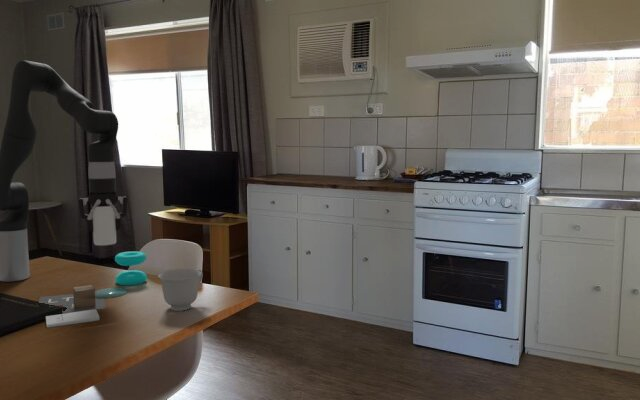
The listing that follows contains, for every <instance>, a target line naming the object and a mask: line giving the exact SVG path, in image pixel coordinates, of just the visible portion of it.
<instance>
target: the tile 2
mask: <svg viewBox="0 0 640 400" xmlns="http://www.w3.org/2000/svg"><path fill="white" fill-rule="evenodd" d="M95 305H96V306H91V307H85V308H78V309H76V307H75V305H74V301H69V302H64V305H63V307H66V308H67V309H66V310H65V311H63V310H62V311H61V312H62V313H61V314H66V313H72V312H79V311H86V310H93V309H96V310H102V309H103V310H105V309H106V298H95Z"/></svg>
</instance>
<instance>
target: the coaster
mask: <svg viewBox="0 0 640 400" xmlns="http://www.w3.org/2000/svg"><path fill="white" fill-rule="evenodd" d="M127 293H128V289H126V288H123V287H108V288H107V287H106V288H102V289H97V290H95V299H98V298H105V299H111V298H112V299H113V298H119V297H122V296H125V295H126V294H127Z"/></svg>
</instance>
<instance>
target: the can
mask: <svg viewBox="0 0 640 400" xmlns="http://www.w3.org/2000/svg"><path fill="white" fill-rule="evenodd" d="M95 207H96V208H95V209H94V213H93V217H92V219H93V232H92V234H93V235H92V236H93V237H92V238H93V244H94V246H95V247H96V246H98V247H104V246H105V247H106V246H113V245H115V244H116V243H117V231H116V216H115V213H114V211H113V208H112V207H111V206H95Z"/></svg>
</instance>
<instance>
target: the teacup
mask: <svg viewBox="0 0 640 400" xmlns="http://www.w3.org/2000/svg"><path fill="white" fill-rule="evenodd" d="M203 274H204V273H203V271H202V269H200V268H197V269H192V268H191V269H190V268H179V269H178V268H177V269H170V270H166V271H162V272H160V273H159V274H158V275H157V277H158V278H159V279H160V282H161V288H162V293H163V294H162V295H163V299H164V301H165V303H166V304H167V305H170V310H171V311H173V310H174V312H183V310H185V311H188V310H190V309H191V308H192V304H193V303H195V301H196V300H197V298H198V293H199V285H200V284H201V282H202V280H203V277H204V275H203ZM189 308H190V309H189ZM187 309H188V310H187Z"/></svg>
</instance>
